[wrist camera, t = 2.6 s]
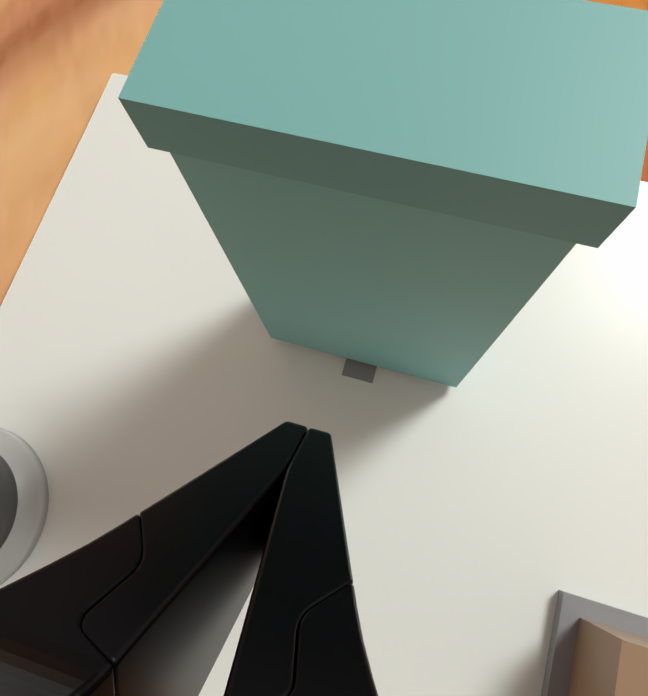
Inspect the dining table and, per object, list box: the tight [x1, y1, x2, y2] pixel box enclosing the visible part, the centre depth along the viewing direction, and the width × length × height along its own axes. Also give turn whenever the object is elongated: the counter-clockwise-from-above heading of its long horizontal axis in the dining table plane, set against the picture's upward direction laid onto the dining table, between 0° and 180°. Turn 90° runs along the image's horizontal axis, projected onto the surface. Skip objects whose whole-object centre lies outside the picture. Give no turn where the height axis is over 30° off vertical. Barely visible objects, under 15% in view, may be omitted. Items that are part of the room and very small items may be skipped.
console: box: [0, 73, 648, 696], centre depth 16 cm, size 20×27×4 cm
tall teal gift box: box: [118, 0, 648, 387], centre depth 12 cm, size 3×6×11 cm, turn 73°
